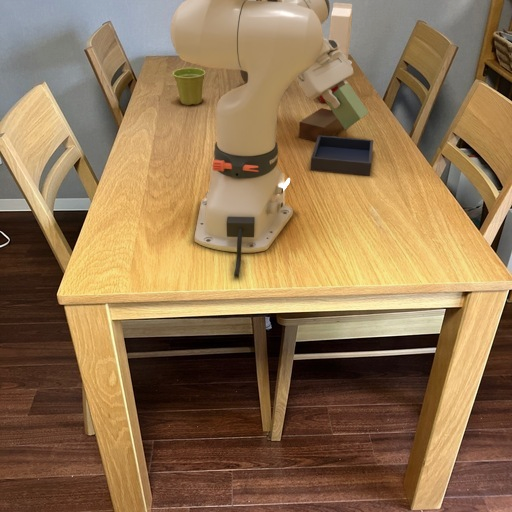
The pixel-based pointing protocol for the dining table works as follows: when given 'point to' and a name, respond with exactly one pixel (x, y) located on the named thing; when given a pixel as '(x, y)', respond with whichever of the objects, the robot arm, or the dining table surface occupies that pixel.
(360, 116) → the green box
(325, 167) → the tray
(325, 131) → the walnut block
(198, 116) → the dining table surface
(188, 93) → the plant pot
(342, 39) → the milk
